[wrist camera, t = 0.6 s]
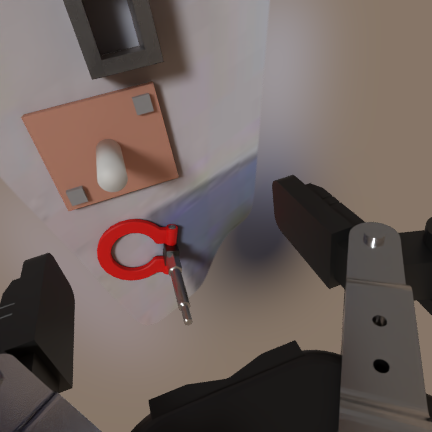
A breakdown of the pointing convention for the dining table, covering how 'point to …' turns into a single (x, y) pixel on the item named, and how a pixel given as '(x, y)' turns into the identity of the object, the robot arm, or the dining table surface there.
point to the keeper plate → (93, 125)
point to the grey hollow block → (123, 58)
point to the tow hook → (158, 264)
